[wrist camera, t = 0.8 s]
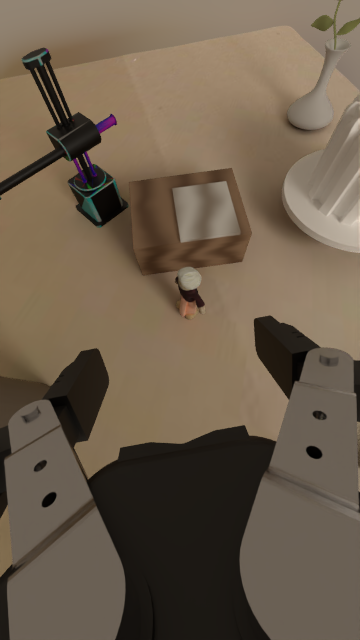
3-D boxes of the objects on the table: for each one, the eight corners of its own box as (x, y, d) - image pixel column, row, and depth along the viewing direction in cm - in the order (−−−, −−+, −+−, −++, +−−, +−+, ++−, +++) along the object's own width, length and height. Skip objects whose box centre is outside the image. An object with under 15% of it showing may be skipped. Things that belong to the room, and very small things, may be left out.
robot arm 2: (115, 180, 56) (62, 22, 33) (139, 198, 53) (100, 41, 30) (28, 240, 50) (-108, 101, 27) (50, 264, 47) (-80, 132, 25)
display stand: (142, 275, 45) (132, 246, 37) (138, 214, 51) (128, 179, 43) (242, 261, 45) (252, 230, 37) (226, 202, 51) (232, 164, 43)
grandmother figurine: (166, 304, 43) (157, 265, 31) (181, 291, 44) (177, 248, 32) (197, 331, 41) (199, 299, 29) (211, 316, 41) (219, 280, 30)
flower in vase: (337, 118, 60) (429, -66, 37) (316, 141, 57) (401, -42, 34) (292, 102, 63) (351, -75, 40) (270, 123, 61) (320, -55, 37)
